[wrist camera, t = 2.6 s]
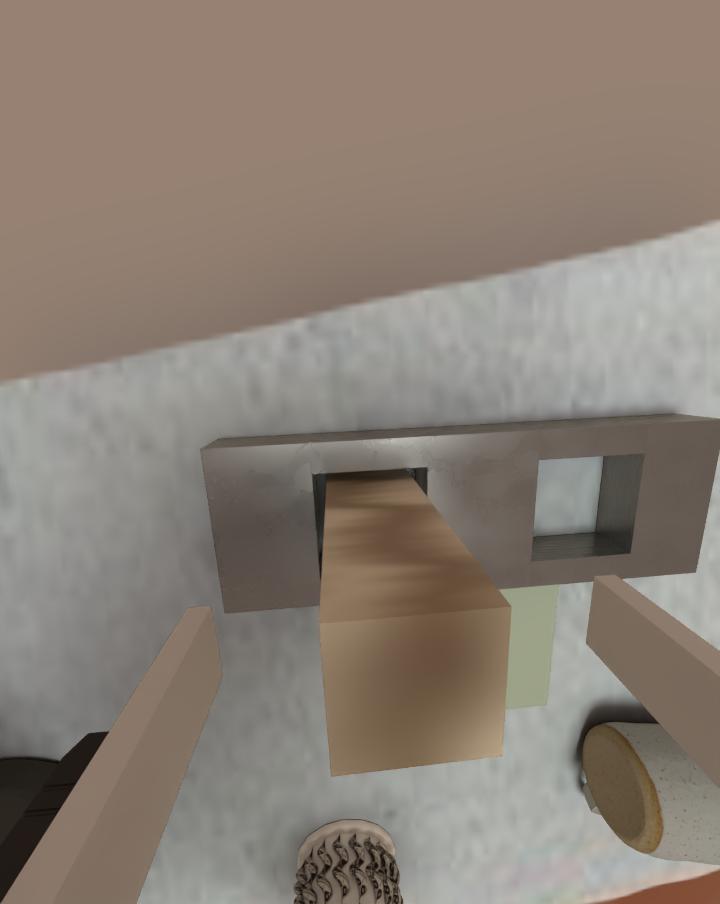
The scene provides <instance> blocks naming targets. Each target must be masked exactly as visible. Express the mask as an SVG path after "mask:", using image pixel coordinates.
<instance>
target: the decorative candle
mask: <svg viewBox="0 0 720 904" xmlns="http://www.w3.org/2000/svg"><path fill="white" fill-rule="evenodd" d="M394 858H395V847H394V845H393V842H392V839H391V836H390V835H389V834H388V833H387V832H386V831H385V830H384V829H382V828H381V827H380V826H379V825H376V824H373V823H370V822H367V821H364V820H340V821H337V822H334V823H330V824H327V825H324V826H322V827H321V828H319V829H318V830H316V831H315V832H313V833H312V834H310V835H309V836H308V837H307V838H306V840H305V841H304V843H303V844H302V846H301V847H300V849H299V853H298V862H297V870H298V871H297V873H296V878H297V880H298V882H297V883H296V884H295V886H294V891H295V893H296V894H297V895H298V896H297V897H296V899H295V901H294V904H403V899H402V896H401V894H400V890H399V887H398V884H399V871H398V869H397V865H396V861H395V859H394ZM302 887H303V888H302Z"/></svg>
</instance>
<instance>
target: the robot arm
mask: <svg viewBox="0 0 720 904" xmlns="http://www.w3.org/2000/svg"><path fill="white" fill-rule="evenodd" d="M586 644H587V645H588V646H589V647H590V648H591V649H592V650H593V651H594V653H595V654H596V655H597V656H598V657H599V658H600V659H601V660H602V661H603V662H604V664H605V665H606V666H607V667H608V668H609V669H610V670H611V671H612V672H613V673H614V674H615V676H616V677H617V678H618V679H619V680H620V681H621V682H622V683H623V684H624V685H625V686H626V688H627V689H628V690H629V691H630V692H631V693H632V694H633V695H634V696H635V697H636V699H637V700H638V701H639V702H640V703H641V704H642V705H643V706H644V707H645V708H646V709H647V711H648V712H649V713H650V714H651V715H652V716H653V717H654V718H655V719H656V720H657V721H658V723H659V724H660V725H661V726H662V727H663V728H664V729H665V730H666V731H667V732H668V734H669V735H670V736H671V737H672V738H673V739H674V740H675V741H676V742H677V743H678V744H679V746H680V747H681V748H682V749H683V750H684V751H685V752H686V753H687V754H688V755H689V756H690V758H691V759H692V760H693V761H694V762H695V763H696V764H697V765H698V766H699V767H700V769H701V770H702V771H703V772H704V773H705V774H706V775H707V776H708V777H709V778H710V779H711V781H712V782H713V783H714V784H715V785H716V786H717V787H718V788H719V789H720V651H719V650H717V649H716V648H715V647H713V646H712V645H711V644H709V643H708V642H707V641H705V640H704V639H702V638H701V637H700V636H698V635H697V634H696V633H694V632H693V631H691V630H690V629H689V628H687V627H686V626H685V625H683V624H682V623H681V622H679V621H678V620H676V619H675V618H674V617H672V616H671V615H670V614H668V613H667V612H666V611H664V610H663V609H661V608H660V607H659V606H657V605H656V604H655V603H653V602H652V601H650V600H649V599H648V598H646V597H645V596H644V595H642V594H641V593H640V592H638V591H637V590H635V589H634V588H633V587H631V586H630V585H629V584H627V583H626V582H625V581H623V580H622V579H620V578H619V577H618V576H616V575H605V576H594V582H593V590H592V598H591V606H590V614H589V622H588V630H587V638H586ZM221 678H222V669H221V662H220V656H219V650H218V644H217V638H216V631H215V625H214V619H213V613H212V607H211V606H205V607H192V608H187V610H186V611H185V613H184V614H183V616H182V618H181V619H180V621H179V622H178V624H177V625H176V627H175V629H174V630H173V632H172V633H171V635H170V637H169V638H168V640H167V641H166V643H165V644H164V646H163V648H162V649H161V651H160V652H159V654H158V655H157V657H156V659H155V660H154V662H153V663H152V665H151V667H150V668H149V670H148V671H147V673H146V674H145V676H144V678H143V679H142V681H141V682H140V684H139V686H138V687H137V689H136V690H135V692H134V693H133V695H132V697H131V698H130V700H129V701H128V703H127V704H126V706H125V708H124V709H123V711H122V712H121V714H120V716H119V717H118V719H117V720H116V722H115V723H114V725H113V727H112V728H111V730H110V731H108V732H97V733H88V734H87V735H86V736H85V737H84V738H83V739H82V740H81V741H80V742H79V743H78V744H77V745H76V746H74V747H73V748H72V749H71V750H70V751H69V752H68V753H67V754H66V755H65V756H64V757H63V758H62V759H61V761H60V762H59V764H55V763H51V762H46V761H38V760H22V759H18V760H2V761H0V904H136V903H137V900H138V897H139V895H140V892H141V889H142V887H143V884H144V882H145V879H146V876H147V874H148V871H149V868H150V866H151V863H152V860H153V858H154V855H155V852H156V850H157V847H158V844H159V842H160V839H161V837H162V834H163V831H164V829H165V826H166V823H167V821H168V818H169V815H170V813H171V810H172V807H173V805H174V802H175V799H176V797H177V794H178V792H179V789H180V786H181V784H182V781H183V778H184V776H185V773H186V770H187V768H188V765H189V762H190V760H191V757H192V754H193V752H194V749H195V747H196V744H197V741H198V739H199V736H200V733H201V731H202V728H203V725H204V723H205V720H206V717H207V715H208V712H209V709H210V707H211V704H212V702H213V699H214V696H215V694H216V691H217V688H218V686H219V683H220V680H221Z"/></svg>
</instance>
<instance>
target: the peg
mask: <svg viewBox="0 0 720 904" xmlns="http://www.w3.org/2000/svg"><path fill="white" fill-rule="evenodd" d="M511 610H512V606H511V605H510V604H509V602H508V601H507V600H506V599H505V597H504V596H503V595H502V593H501V592H500V591H499V589H498V588H497V587H496V586H495V584H494V583H493V582H492V580H491V579H490V578H489V576H488V575H487V574H486V573H485V571H484V570H483V569H482V567H481V566H480V565H479V563H478V562H477V561H476V560H475V558H474V557H473V556H472V554H471V553H470V552H469V550H468V549H467V548H466V547H465V545H464V544H463V543H462V541H461V540H460V539H459V537H458V536H457V535H456V534H455V532H454V531H453V530H452V528H451V527H450V526H449V524H448V523H447V522H446V521H445V519H444V518H443V517H442V515H441V514H440V513H439V511H438V510H437V509H436V508H435V506H434V505H433V504H432V502H431V501H430V500H429V498H428V497H427V496H426V495H425V493H424V492H423V491H422V489H421V488H420V487H419V485H418V484H417V483H416V482H415V480H414V479H413V478H412V476H411V475H410V474H409V472H408V471H407V470H406V469H405V468H403V469H387V470H371V471H355V472H339V473H327V483H326V502H325V520H324V539H323V557H322V575H321V594H320V612H319V632H320V645H321V657H322V670H323V682H324V695H325V707H326V719H327V732H328V744H329V757H330V769H331V777H333V776H341V775H349V774H358V773H366V772H374V771H383V770H391V769H399V768H408V767H416V766H424V765H433V764H441V763H449V762H458V761H466V760H474V759H483V758H491V757H499V756H502V754H503V738H504V722H505V706H506V690H507V674H508V658H509V642H510V626H511Z"/></svg>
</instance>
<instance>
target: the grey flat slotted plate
mask: <svg viewBox="0 0 720 904" xmlns="http://www.w3.org/2000/svg"><path fill="white" fill-rule="evenodd" d="M200 451H201V458H202V464H203V471H204V478H205V484H206V491H207V498H208V505H209V511H210V518H211V525H212V531H213V538H214V545H215V551H216V558H217V565H218V571H219V578H220V585H221V592H222V598H223V605H224V612H225V613H237V612H248V611H260V610H271V609H282V608H294V607H305V606H317V605H320V594H321V575H322V557H323V554H321V541H320V527H319V514H318V500H317V487H316V474H323V473H339V472H355V471H371V470H387V469H403V468H415V475H416V483H417V484H418V485H419V487H420V488H421V489H422V491H423V492H424V493H425V495H426V496H427V497H428V498H429V500H430V501H431V502H432V504H433V505H434V506H435V508H436V509H437V510H438V511H439V513H440V514H441V515H442V517H443V518H444V519H445V521H446V522H447V523H448V524H449V526H450V527H451V528H452V530H453V531H454V532H455V534H456V535H457V536H458V537H459V539H460V540H461V541H462V543H463V544H464V545H465V547H466V548H467V549H468V550H469V552H470V553H471V554H472V556H473V557H474V558H475V560H476V561H477V562H478V563H479V565H480V566H481V567H482V569H483V570H484V571H485V573H486V574H487V575H488V576H489V578H490V579H491V580H492V582H493V583H494V584H495V586H496V587H497V588H498V589H499V590H500V589H511V588H523V587H534V586H546V585H557V584H569V583H580V582H592V581H594V576H605V575H616V576H618V577H619V578H620V579H626V578H637V577H649V576H660V575H672V574H683V573H695V572H696V569H697V564H698V559H699V554H700V549H701V544H702V538H703V533H704V528H705V523H706V518H707V513H708V507H709V502H710V497H711V492H712V487H713V482H714V476H715V471H716V466H717V461H718V456H719V451H720V419H717V418H709V417H700V416H692V415H683V414H662V415H644V416H626V417H607V418H589V419H571V420H553V421H535V422H517V423H499V424H480V425H462V426H444V427H426V428H408V429H390V430H372V431H353V432H335V433H317V434H299V435H281V436H263V437H245V438H226V439H217V440H216V441H214V442H212V443H210V444H209V445H207V446H205V447H203V448H202V449H200ZM594 456H604V464H603V472H602V481H601V489H600V498H599V506H598V515H597V523H596V532H595V533H582V534H569V535H556V536H543V537H533V529H534V515H535V502H536V488H537V475H538V461H539V460H546V459H562V458H578V457H594Z"/></svg>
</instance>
